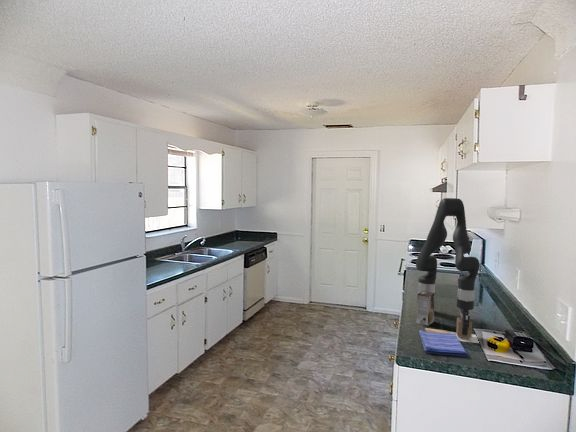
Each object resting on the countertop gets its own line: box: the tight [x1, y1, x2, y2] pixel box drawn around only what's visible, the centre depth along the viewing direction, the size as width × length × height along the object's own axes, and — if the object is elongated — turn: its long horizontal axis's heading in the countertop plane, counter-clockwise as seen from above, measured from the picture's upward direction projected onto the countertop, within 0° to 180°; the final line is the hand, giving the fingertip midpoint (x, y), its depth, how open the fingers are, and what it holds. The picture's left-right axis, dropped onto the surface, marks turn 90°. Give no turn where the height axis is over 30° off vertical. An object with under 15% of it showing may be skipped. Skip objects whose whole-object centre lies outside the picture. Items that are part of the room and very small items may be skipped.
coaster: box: [424, 327, 450, 334], centre depth 191 cm, size 10×11×1 cm
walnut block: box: [455, 317, 473, 338], centre depth 186 cm, size 6×6×7 cm
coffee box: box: [416, 291, 436, 327], centre depth 207 cm, size 9×6×16 cm
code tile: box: [449, 331, 480, 344], centre depth 186 cm, size 12×12×1 cm
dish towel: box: [418, 329, 468, 357], centre depth 175 cm, size 17×24×3 cm
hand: (463, 332), depth 186 cm, fingers closed on walnut block, 6 cm apart
